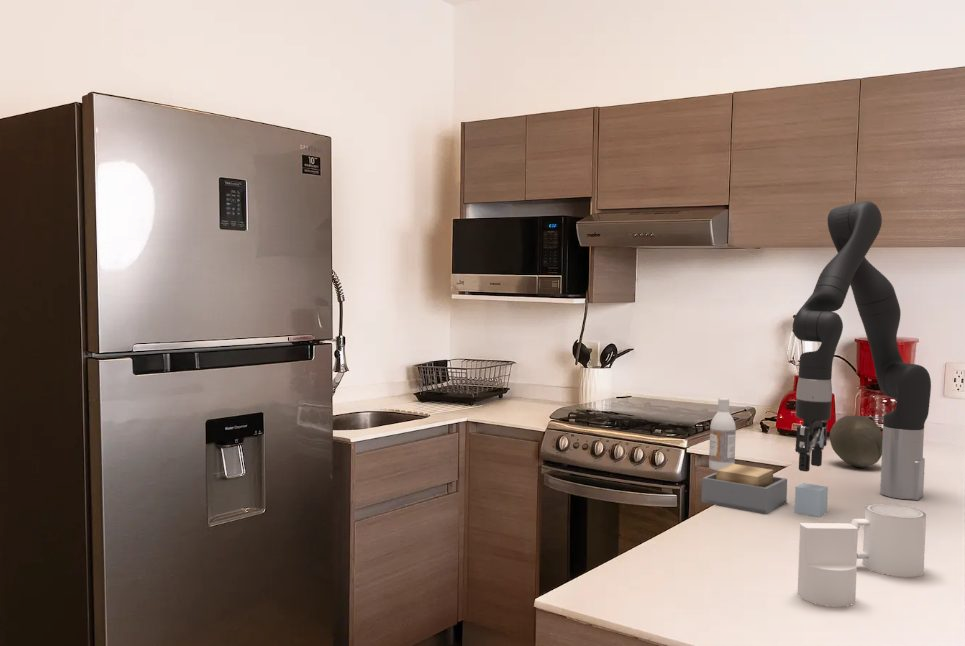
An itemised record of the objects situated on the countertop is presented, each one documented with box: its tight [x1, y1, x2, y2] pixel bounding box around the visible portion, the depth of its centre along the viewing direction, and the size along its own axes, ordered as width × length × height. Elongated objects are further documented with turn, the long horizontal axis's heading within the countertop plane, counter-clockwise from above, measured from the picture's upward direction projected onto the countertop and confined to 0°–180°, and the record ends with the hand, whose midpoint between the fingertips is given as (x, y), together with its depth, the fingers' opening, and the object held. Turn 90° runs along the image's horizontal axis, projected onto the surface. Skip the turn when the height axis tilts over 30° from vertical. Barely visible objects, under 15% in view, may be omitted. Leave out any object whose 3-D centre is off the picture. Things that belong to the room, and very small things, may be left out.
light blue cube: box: [794, 482, 829, 518], centre depth 195 cm, size 6×6×6 cm
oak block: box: [715, 463, 774, 488], centre depth 203 cm, size 10×10×7 cm
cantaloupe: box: [829, 415, 883, 469], centre depth 245 cm, size 14×14×15 cm
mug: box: [850, 503, 927, 578], centre depth 157 cm, size 14×10×11 cm
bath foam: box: [708, 397, 737, 471], centre depth 239 cm, size 7×7×20 cm
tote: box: [700, 471, 788, 515], centre depth 203 cm, size 16×14×6 cm
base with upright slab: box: [797, 522, 859, 607], centre depth 141 cm, size 9×9×12 cm
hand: (810, 468), depth 195 cm, fingers open, 8 cm apart
